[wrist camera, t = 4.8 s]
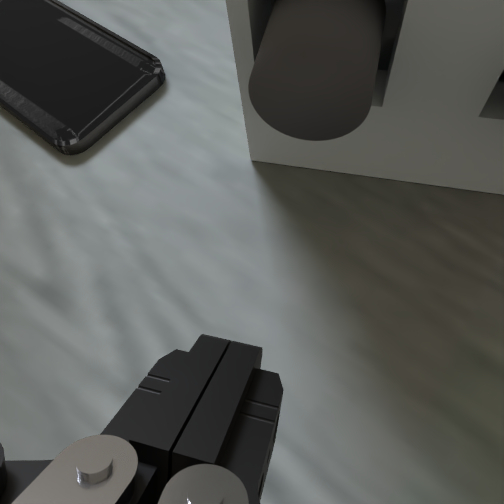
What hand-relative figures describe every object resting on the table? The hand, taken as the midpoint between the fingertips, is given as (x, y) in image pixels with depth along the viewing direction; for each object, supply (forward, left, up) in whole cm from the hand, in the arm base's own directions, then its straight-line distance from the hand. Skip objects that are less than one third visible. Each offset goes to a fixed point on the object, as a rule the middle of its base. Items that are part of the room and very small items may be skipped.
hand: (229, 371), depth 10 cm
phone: (-11, +21, -7) cm, 25 cm away
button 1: (+4, +10, -2) cm, 11 cm away
